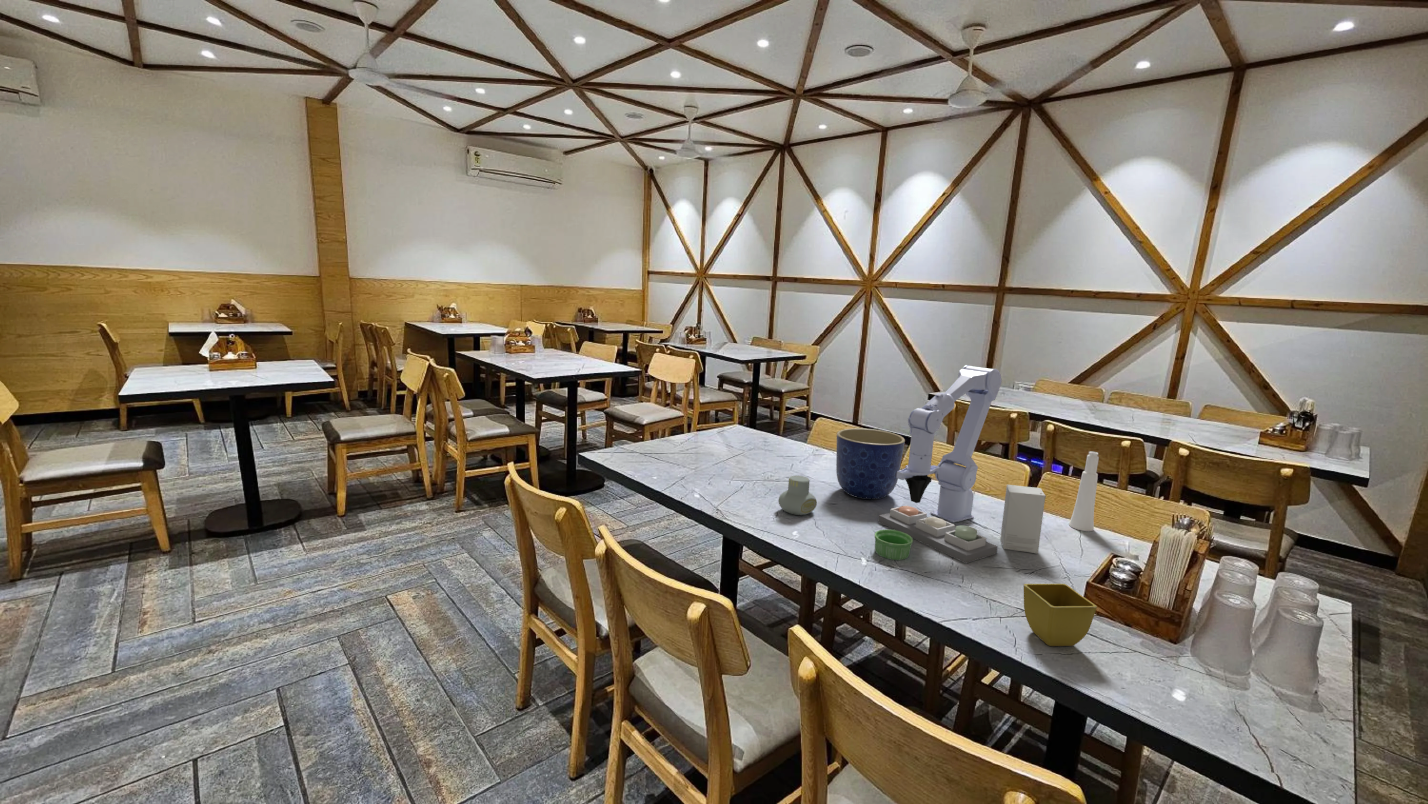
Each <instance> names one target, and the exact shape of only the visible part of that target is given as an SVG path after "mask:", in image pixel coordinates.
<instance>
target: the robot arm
mask: <svg viewBox="0 0 1428 804" xmlns="http://www.w3.org/2000/svg"><path fill="white" fill-rule="evenodd" d="M1001 374H1002V373H1001V372H1000V370H999V369H998V368H987V367H980V366H974V365H973V366H972V365H969V364H965V365H964V366H962V368H961V369H959V371H958V374H957V379H956V380H955V381H954V382H953V383H952V384H951V385H950V387H949V388H947V390H946V391H945V392H937V393H936V394H935V395H934V396H933V397H932V398H931V399H930V400H928V402H926V403H925V404H924V405H923V406H922V407H917V408H915V409H913V410H912V411H911V412H910V413H909V417H908V418H907V423H908V426H909V434H910V444H909V454H908V456H909V457H908V463H907V464H906V465H905V468H903V469H900V471H897V478H898V480H900V481H905V482H906V485H907V487H908V491H909V496H910V497H909V498H910V501H911V502H914V503H916V504H920V503H921V500H922V498H923V496H924V493H925V491H926V490H927V488H928V486H929V485H930V484H931V482H932V477H931V476H929V475H934V476H935V479H936V481H938V483H937V485H940V488H939V496H938V503H937V510H933V511H930V514H931V515H933V516H934V517H937V518H940V519H943V520H944V521H947V522H949V523H952V524H954V523H958V522H962V521H965V520H969V519H974V515H972V514H973V513H972V512H973V504H974V498H975V497H974V492H973V490H972V488H973V486H975V483H976V480H977V471H978V469H979V466H978V465H977V464H976V462H975V461H974V458H973V457H972V456H973V454H974V452H975V448H976V447H977V443H978V440H979V437H980V436H981V432H982V429H983V427H984V423H985V422H986V418H987V416H988V413H989V410H990V408H991V405H992V402H993V401H995V400H997V396H998V394H999V391H1000V388H1001V385H1002V383H1003V382H1002V381H1003V380H1002V375H1001ZM964 395H965V396H967V397H969V399H970V404H969V406H968V409H967V411H966V413H965V417H964V419H963V422H962V426H961V427H960V430H959V433H958V435H957V438H956V441H955V444H954V446H953V450H952V451H951V452H947V453H946V454H944V455H942V458H941V460H940V462H938V464H937V465H934V464H932V457H933V450H934V449H933V448H934V442H935V441H934V440H935V433H936V432H938V431H939V429H940V427H941V425H942V422H943V421H944V418H945V417H946V416H947V415H948V414H949V413H951V411H953V410H954V409H955V402H957V401H958V400H959V399H960V398H962V397H964Z"/></svg>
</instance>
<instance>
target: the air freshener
mask: <svg viewBox="0 0 1428 804" xmlns="http://www.w3.org/2000/svg"><path fill="white" fill-rule="evenodd" d="M787 483H788V485H787V486H788V487H787V490H785V491H783V492H782V493H781V494H780V495H779V497H778V500H777V501H778V502H777V503H778V505H779V507H780V508H781V509H782V510H783V511H784V512H787V513H788V514H790V515H795V516H806V515H808V514H810V513H812V512H814V511H815V509H816V507H817V504H818V502H817V499H816V497H815V496H814V495H813V493H811V492H810V479H809V478H808V477H807V476H803V475H791V476H790V477H788V482H787Z"/></svg>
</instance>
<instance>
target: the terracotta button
mask: <svg viewBox="0 0 1428 804" xmlns="http://www.w3.org/2000/svg"><path fill="white" fill-rule="evenodd" d="M898 507H899V512H901V513H903V514H905V515H908V516H914V515H918V510H919V509H917V508H916V507H913V506H910V505H908V506H906V505H901V506H898Z"/></svg>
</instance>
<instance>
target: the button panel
mask: <svg viewBox="0 0 1428 804" xmlns="http://www.w3.org/2000/svg"><path fill="white" fill-rule="evenodd" d="M905 506H909V505H905ZM899 507H900V506H898V507H894V508H893V507H892V508H890V510H889V512H888V513H883V514H879V515H878V519H877V523H879V524H882V525H884V526H885V527H888V528H889V529H891V530H896V531H901V532H903V533H906V534H908V535H909V536H911V537H912V539H913V540H915V541H917V542H920V543H921V544H923V545H926V546H928V547H930V548H932V549H935V550H936V551H939V552H941V553H943V554H945V555H948V556H950V557H951V558H954V559H955V560H959V562H962V563H965V564H969V563H971V562H974V561H977V560H980V559H983V558H988V557H990V556H994V555H996V554H998V553H997V552H998V545H996V544H993V543H991V542H989V541H987V538H986V537H984V536H982V535H979V534H978V533H977V537H976V540H973V541H970V542H967V541H965V540H963V539H961V538H958V537H956V536H955V528H956V525H955V524H954V523H952V522H950V521H946V526H945V527H941V528H935V527H933V526H931V525H928V524H926V523H925V522H926V518H928V517H929V516H928V513H927V512H925V511H922V510H920V509H918V515H914V516H908V515H905V514H903V513H901V512H899ZM931 517H935V518H938V516H935V515H933V516H931Z"/></svg>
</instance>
